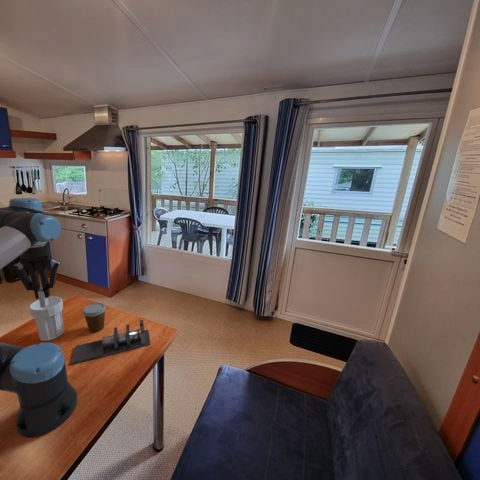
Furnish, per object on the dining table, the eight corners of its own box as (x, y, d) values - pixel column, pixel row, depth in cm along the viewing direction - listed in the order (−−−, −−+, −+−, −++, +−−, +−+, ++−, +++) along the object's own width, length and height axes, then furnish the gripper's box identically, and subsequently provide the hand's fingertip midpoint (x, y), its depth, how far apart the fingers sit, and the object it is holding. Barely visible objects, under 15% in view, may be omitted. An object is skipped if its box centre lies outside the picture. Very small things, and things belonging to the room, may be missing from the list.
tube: (102, 349, 97) (101, 341, 96) (103, 342, 101) (102, 335, 100) (142, 340, 105) (141, 332, 103) (141, 334, 108) (141, 326, 107)
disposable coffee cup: (81, 330, 109) (77, 309, 106) (100, 320, 117) (97, 300, 114) (93, 337, 105) (90, 316, 102) (112, 326, 114) (110, 306, 110)
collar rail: (150, 344, 104) (149, 329, 102) (71, 364, 90) (68, 348, 88) (148, 331, 113) (147, 317, 110) (75, 347, 99) (73, 332, 97)
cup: (29, 342, 99) (21, 309, 94) (50, 326, 110) (44, 295, 105) (54, 344, 100) (48, 311, 95) (73, 327, 110) (68, 297, 106)
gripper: (60, 240, 81) (69, 297, 88) (13, 242, 76) (26, 302, 82) (53, 247, 75) (63, 308, 81) (1, 249, 69) (16, 314, 76)
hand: (44, 305), depth 82 cm, fingers closed
